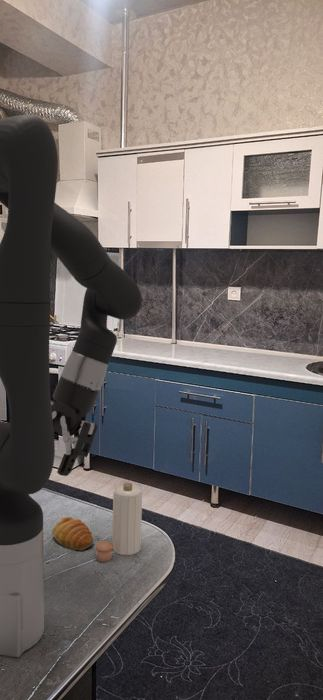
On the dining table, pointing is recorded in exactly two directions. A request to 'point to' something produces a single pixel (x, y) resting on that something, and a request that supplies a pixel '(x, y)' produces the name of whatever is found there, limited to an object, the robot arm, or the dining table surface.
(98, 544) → the salmon brown knob
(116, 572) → the dining table surface
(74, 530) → the pastry
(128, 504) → the ribbed lidded canister
